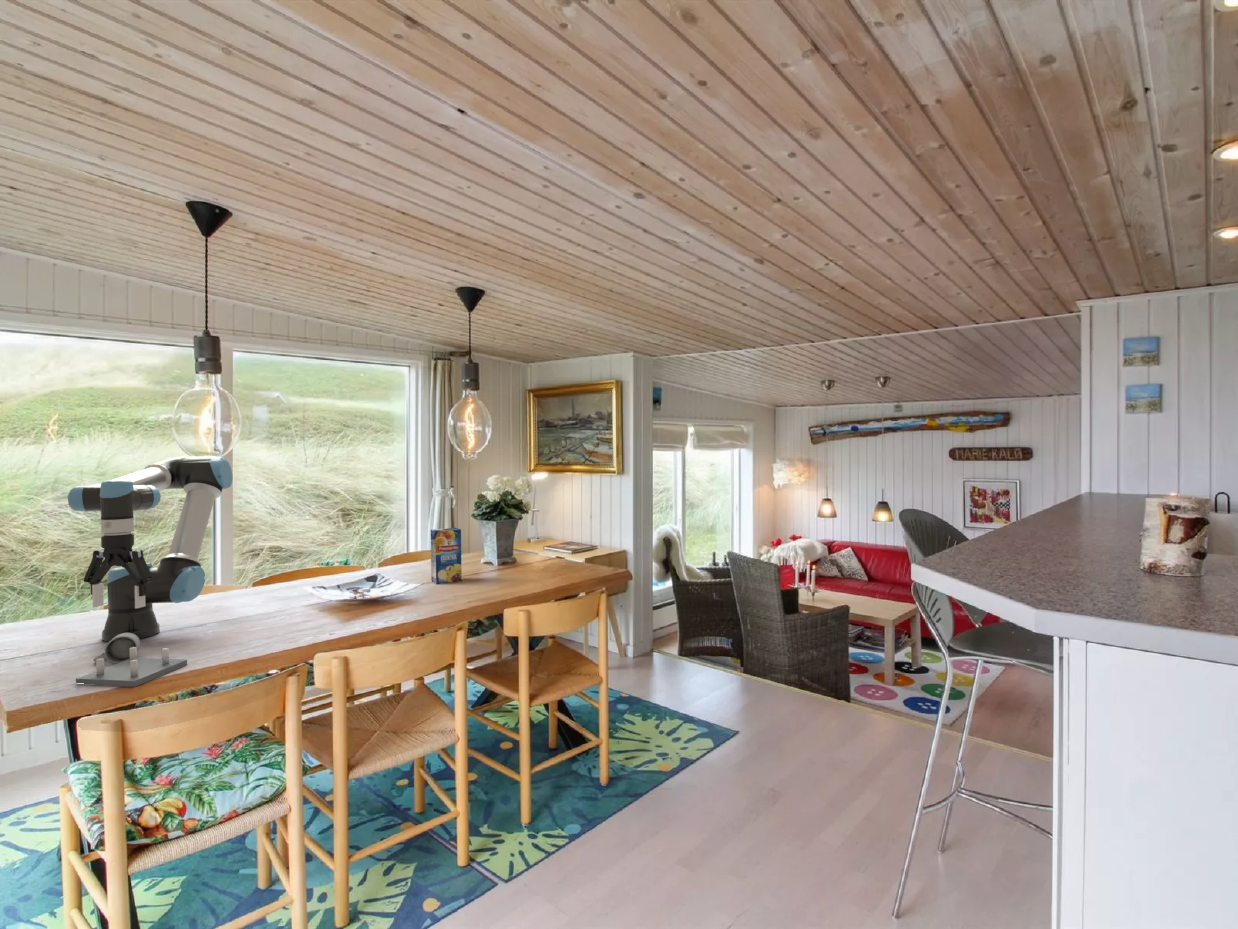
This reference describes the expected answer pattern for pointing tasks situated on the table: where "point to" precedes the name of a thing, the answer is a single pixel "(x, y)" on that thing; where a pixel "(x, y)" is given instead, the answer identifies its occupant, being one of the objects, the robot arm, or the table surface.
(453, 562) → the juice carton
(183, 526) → the robot arm
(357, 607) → the table surface
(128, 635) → the ceramic mug
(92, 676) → the pin plate
